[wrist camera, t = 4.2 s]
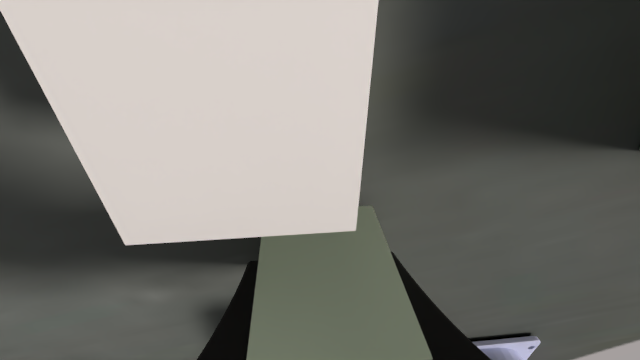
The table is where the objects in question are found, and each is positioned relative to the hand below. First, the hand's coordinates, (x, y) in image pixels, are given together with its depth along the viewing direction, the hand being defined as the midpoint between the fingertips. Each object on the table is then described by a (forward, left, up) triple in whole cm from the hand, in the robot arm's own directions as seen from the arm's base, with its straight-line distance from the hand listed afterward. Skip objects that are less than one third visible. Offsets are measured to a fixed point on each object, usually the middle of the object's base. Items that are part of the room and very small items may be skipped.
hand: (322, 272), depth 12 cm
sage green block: (0, 0, -1) cm, 1 cm away
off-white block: (+8, +2, -3) cm, 8 cm away
